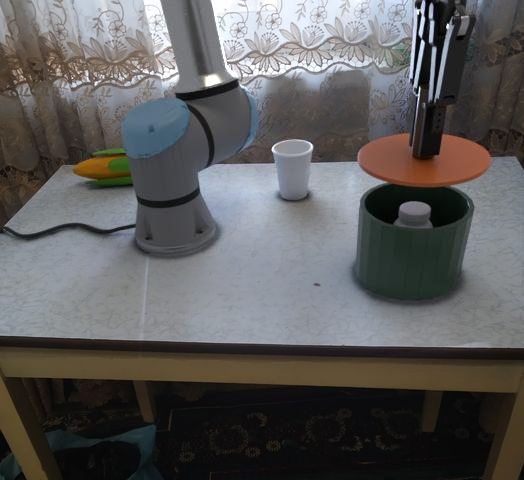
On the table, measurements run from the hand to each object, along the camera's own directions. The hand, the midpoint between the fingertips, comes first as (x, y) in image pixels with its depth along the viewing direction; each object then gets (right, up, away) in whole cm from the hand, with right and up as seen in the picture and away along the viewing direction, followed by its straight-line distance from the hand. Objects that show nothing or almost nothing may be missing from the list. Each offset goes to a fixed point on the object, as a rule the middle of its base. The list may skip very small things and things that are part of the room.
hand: (423, 149), depth 73 cm
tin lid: (0, -1, +1) cm, 1 cm away
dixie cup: (-16, +5, +39) cm, 42 cm away
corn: (-56, +11, +49) cm, 75 cm away
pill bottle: (+1, -15, +13) cm, 20 cm away
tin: (+1, -15, +14) cm, 21 cm away
